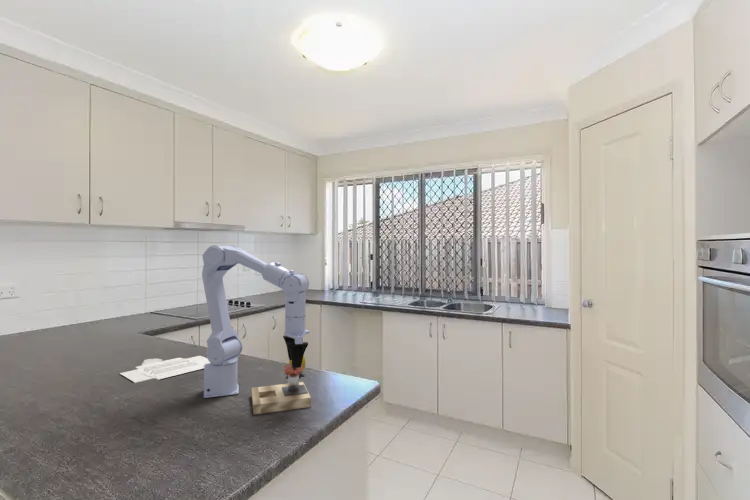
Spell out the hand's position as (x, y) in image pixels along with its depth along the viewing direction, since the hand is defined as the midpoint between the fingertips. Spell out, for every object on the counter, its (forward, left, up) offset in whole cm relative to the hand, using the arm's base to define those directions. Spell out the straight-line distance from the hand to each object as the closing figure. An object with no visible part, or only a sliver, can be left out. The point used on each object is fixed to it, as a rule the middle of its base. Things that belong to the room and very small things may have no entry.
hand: (294, 363), depth 107 cm
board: (-4, 0, -10) cm, 11 cm away
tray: (-38, +43, -11) cm, 58 cm away
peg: (0, 0, -8) cm, 8 cm away
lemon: (+4, +21, -11) cm, 24 cm away
